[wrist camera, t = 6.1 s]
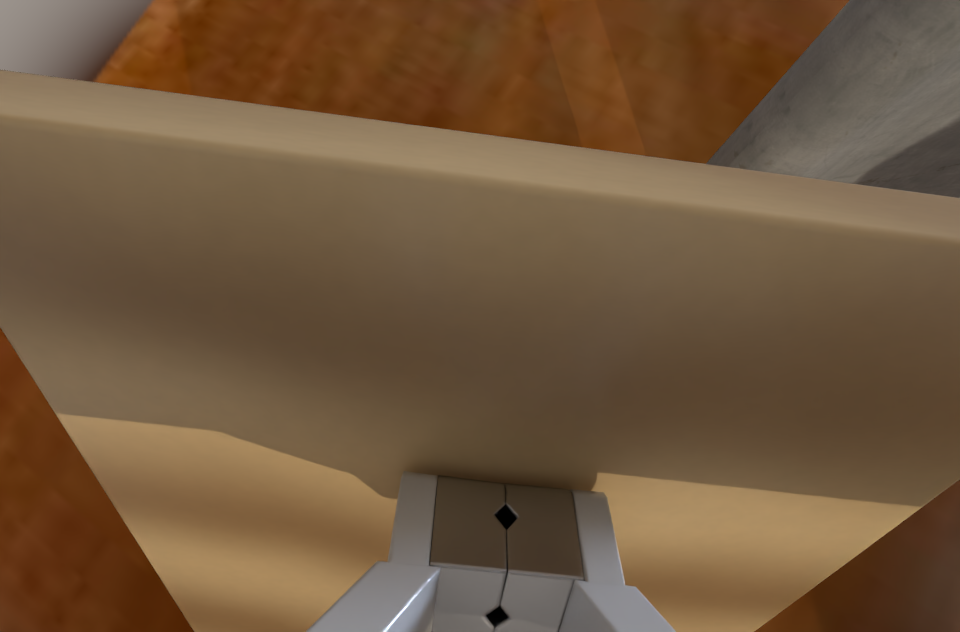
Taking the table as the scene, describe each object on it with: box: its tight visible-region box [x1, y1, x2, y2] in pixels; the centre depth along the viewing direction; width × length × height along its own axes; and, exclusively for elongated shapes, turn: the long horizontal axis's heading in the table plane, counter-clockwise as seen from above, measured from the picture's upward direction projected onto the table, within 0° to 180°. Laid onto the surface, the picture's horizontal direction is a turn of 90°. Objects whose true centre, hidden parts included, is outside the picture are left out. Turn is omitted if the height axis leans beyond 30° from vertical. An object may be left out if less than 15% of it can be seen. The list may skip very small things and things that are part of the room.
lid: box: [0, 70, 960, 632], centre depth 12 cm, size 16×13×1 cm
